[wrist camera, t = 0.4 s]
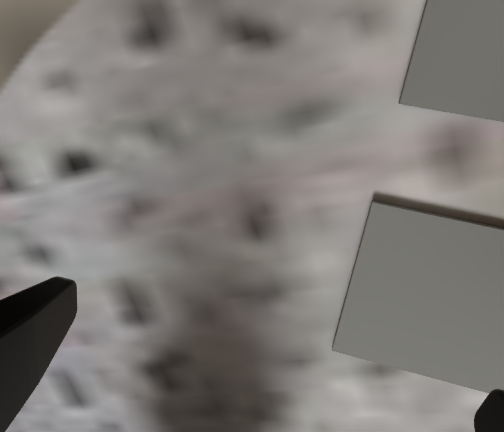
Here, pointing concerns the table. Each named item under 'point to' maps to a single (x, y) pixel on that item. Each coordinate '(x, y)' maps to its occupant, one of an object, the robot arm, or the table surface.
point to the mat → (437, 227)
